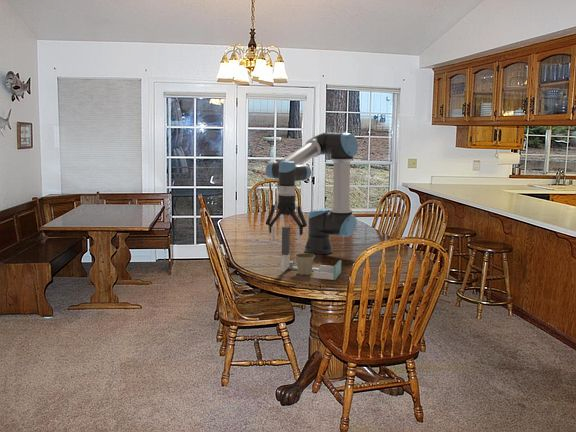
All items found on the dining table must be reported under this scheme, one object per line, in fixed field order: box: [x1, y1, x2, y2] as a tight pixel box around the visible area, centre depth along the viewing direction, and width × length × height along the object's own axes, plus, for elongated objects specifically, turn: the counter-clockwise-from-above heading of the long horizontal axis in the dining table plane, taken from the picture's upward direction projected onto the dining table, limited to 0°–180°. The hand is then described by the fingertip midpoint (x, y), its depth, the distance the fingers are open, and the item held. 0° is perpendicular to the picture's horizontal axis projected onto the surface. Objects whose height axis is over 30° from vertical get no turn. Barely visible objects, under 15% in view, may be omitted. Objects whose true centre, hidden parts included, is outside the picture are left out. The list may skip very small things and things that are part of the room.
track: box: [286, 265, 320, 272], centre depth 293 cm, size 2×17×1 cm, turn 75°
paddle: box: [280, 225, 295, 272], centre depth 288 cm, size 13×4×20 cm, turn 165°
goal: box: [313, 259, 342, 281], centre depth 282 cm, size 14×10×6 cm
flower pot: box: [294, 252, 316, 276], centre depth 285 cm, size 9×9×9 cm
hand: (285, 240), depth 286 cm, fingers open, 12 cm apart
